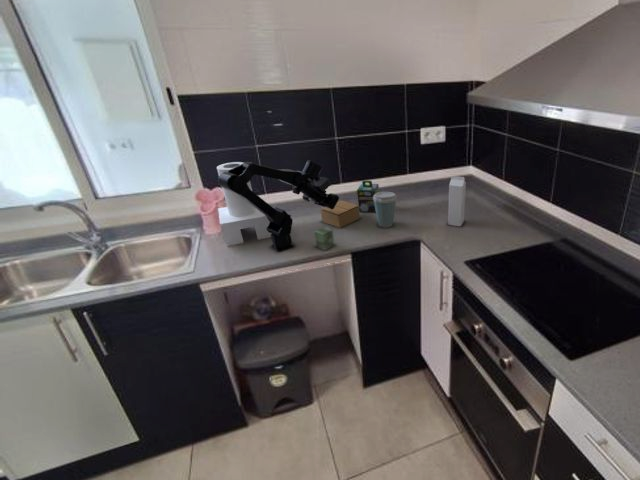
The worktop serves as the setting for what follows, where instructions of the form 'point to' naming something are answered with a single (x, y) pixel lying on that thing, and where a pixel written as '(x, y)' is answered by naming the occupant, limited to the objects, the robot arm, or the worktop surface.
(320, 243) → the block
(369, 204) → the chalk box
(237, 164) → the paper towel holder
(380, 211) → the disposable coffee cup
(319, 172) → the robot arm
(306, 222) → the worktop surface
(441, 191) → the worktop surface
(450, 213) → the milk
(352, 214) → the carton
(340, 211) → the flap
